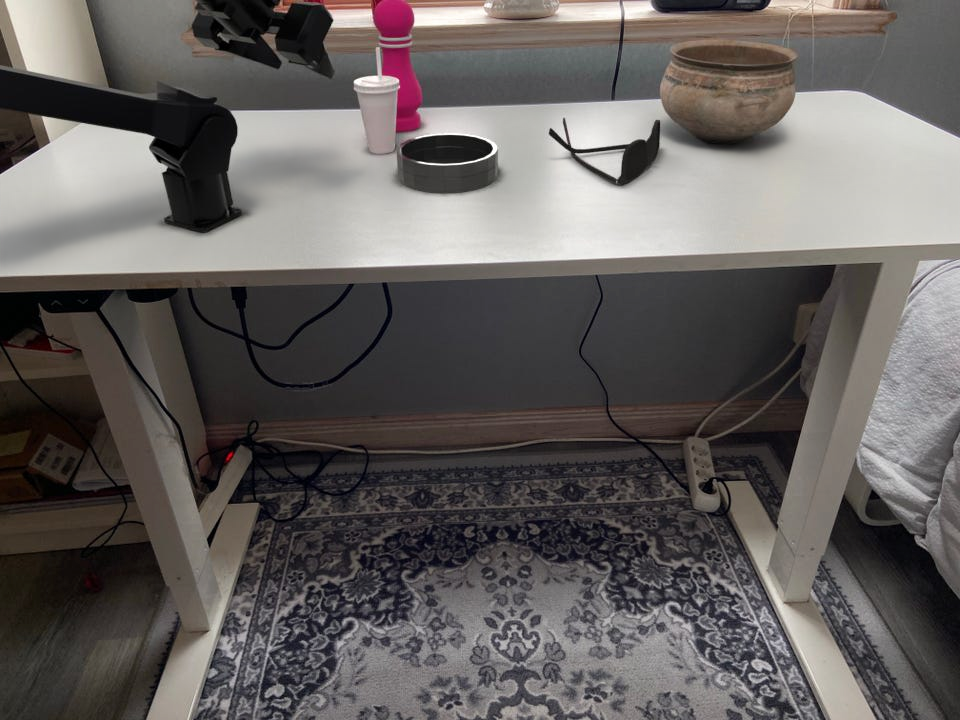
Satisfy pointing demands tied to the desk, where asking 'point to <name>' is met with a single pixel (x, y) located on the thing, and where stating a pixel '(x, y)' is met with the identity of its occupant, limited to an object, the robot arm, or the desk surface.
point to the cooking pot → (728, 88)
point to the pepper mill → (399, 59)
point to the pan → (447, 163)
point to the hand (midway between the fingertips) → (305, 70)
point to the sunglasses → (633, 158)
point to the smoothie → (378, 108)
